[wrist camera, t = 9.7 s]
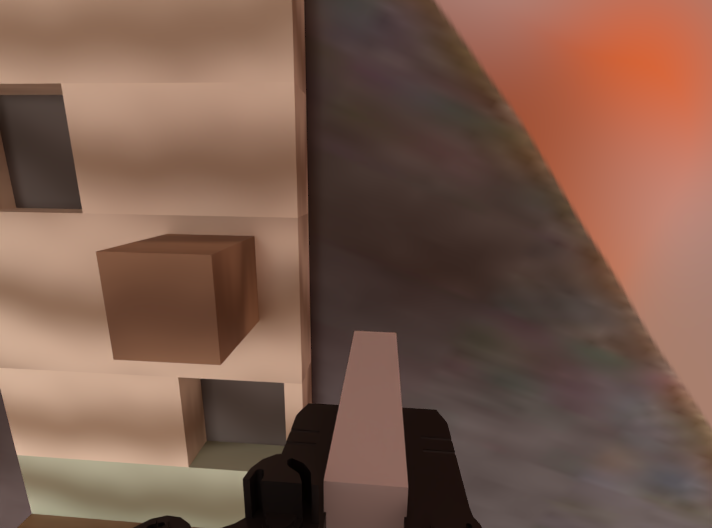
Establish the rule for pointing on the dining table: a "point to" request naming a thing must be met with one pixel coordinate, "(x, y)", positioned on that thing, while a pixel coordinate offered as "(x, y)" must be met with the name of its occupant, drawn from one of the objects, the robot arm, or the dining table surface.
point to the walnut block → (179, 297)
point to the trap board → (142, 221)
